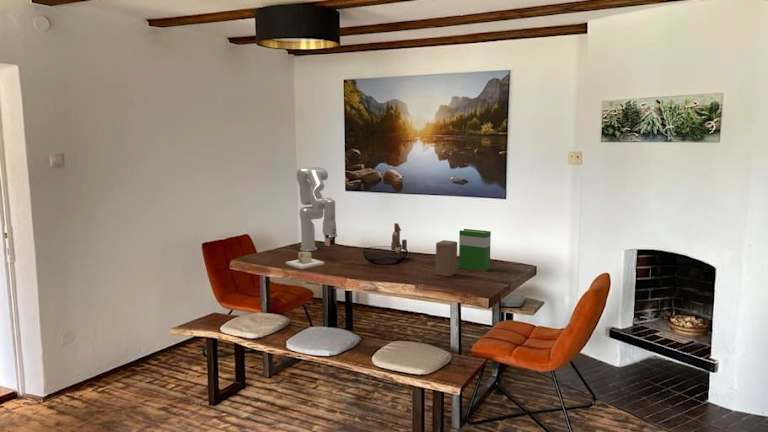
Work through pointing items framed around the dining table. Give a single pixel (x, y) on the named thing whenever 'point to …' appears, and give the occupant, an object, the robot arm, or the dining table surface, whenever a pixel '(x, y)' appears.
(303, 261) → the maple block
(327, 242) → the terracotta block
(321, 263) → the plate
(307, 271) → the dining table surface
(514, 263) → the dining table surface
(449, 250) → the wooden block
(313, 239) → the robot arm
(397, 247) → the wooden toy
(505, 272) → the dining table surface
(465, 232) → the green cereal box
